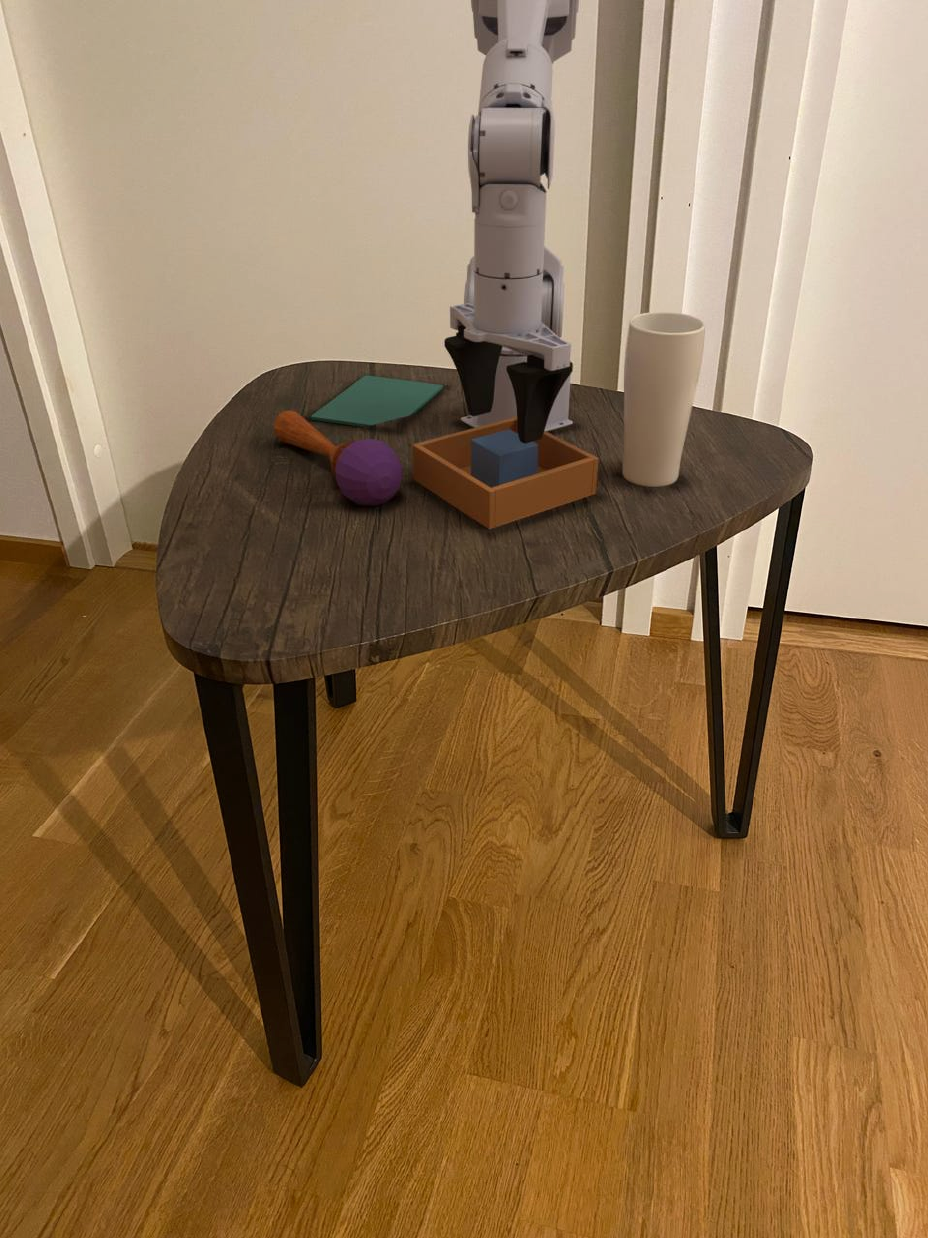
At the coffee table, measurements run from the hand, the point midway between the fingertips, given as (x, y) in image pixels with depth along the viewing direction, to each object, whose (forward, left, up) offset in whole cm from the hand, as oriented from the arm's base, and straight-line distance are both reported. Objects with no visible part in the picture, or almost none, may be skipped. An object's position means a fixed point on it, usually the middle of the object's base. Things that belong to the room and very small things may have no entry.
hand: (504, 426), depth 88 cm
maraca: (+11, -12, -7) cm, 18 cm away
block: (0, 0, -6) cm, 6 cm away
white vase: (-13, +6, -7) cm, 16 cm away
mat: (-2, -26, -6) cm, 27 cm away
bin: (0, 0, -6) cm, 6 cm away
